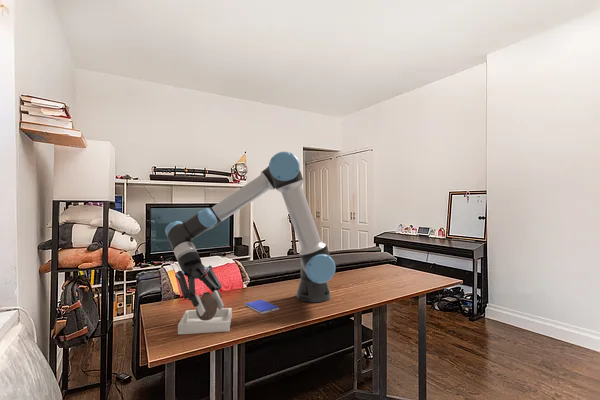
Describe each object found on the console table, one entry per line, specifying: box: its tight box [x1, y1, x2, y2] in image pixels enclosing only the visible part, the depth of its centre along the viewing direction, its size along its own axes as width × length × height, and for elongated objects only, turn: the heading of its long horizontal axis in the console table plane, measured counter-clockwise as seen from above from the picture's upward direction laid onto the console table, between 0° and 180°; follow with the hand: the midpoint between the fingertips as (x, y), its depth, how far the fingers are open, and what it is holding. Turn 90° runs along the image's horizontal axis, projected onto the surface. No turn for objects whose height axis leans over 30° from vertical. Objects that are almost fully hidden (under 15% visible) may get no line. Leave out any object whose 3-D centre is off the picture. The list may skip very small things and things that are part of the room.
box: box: [177, 307, 233, 335], centre depth 106 cm, size 16×14×3 cm
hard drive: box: [245, 299, 280, 315], centre depth 124 cm, size 2×8×12 cm
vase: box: [195, 291, 218, 321], centre depth 106 cm, size 7×7×9 cm
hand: (212, 310), depth 104 cm, fingers closed on vase, 7 cm apart
